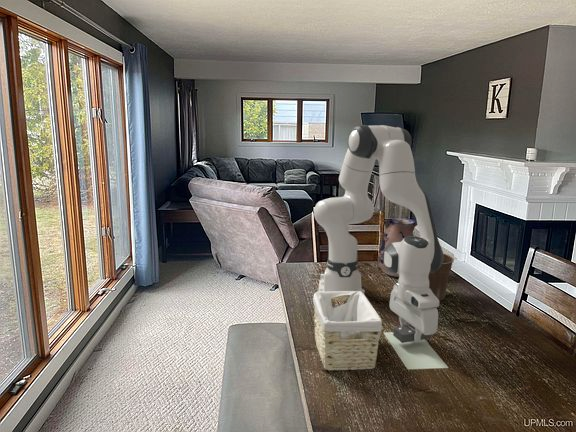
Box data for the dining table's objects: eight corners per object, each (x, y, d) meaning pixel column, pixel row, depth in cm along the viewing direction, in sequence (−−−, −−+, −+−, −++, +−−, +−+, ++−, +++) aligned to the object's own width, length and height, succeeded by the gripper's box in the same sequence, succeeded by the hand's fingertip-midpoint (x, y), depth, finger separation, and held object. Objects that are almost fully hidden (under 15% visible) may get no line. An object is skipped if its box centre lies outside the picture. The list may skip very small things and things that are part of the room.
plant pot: (451, 306, 162) (454, 265, 159) (406, 300, 167) (408, 260, 164) (450, 291, 177) (453, 253, 174) (408, 286, 182) (411, 249, 179)
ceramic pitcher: (374, 267, 207) (376, 216, 202) (418, 268, 207) (422, 217, 202) (380, 280, 190) (383, 224, 185) (429, 281, 189) (433, 224, 185)
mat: (383, 333, 139) (383, 332, 139) (418, 332, 140) (418, 331, 140) (407, 371, 118) (407, 369, 118) (448, 369, 119) (448, 367, 119)
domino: (421, 331, 135) (393, 335, 132) (422, 323, 135) (393, 327, 132) (431, 338, 131) (402, 342, 128) (431, 330, 130) (402, 334, 127)
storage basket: (311, 333, 139) (312, 290, 136) (361, 332, 140) (363, 289, 138) (321, 374, 116) (323, 322, 113) (381, 373, 117) (384, 321, 114)
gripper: (385, 281, 137) (383, 322, 140) (423, 305, 118) (420, 352, 121) (403, 279, 139) (400, 320, 142) (443, 303, 120) (439, 349, 123)
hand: (410, 335), depth 131 cm, fingers closed on domino, 5 cm apart
